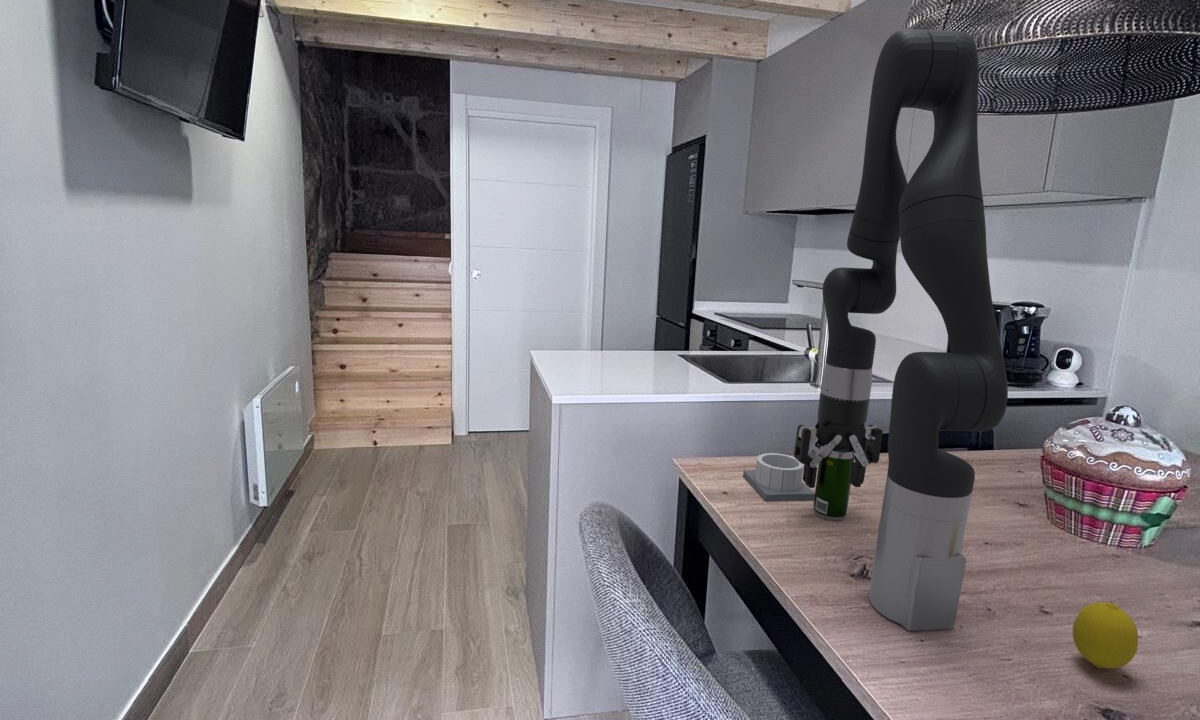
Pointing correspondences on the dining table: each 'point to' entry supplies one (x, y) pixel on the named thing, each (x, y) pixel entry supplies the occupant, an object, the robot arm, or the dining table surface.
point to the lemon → (1105, 635)
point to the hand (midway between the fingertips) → (832, 485)
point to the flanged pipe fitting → (778, 478)
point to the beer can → (833, 485)
